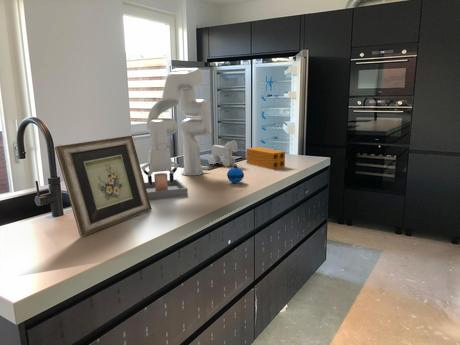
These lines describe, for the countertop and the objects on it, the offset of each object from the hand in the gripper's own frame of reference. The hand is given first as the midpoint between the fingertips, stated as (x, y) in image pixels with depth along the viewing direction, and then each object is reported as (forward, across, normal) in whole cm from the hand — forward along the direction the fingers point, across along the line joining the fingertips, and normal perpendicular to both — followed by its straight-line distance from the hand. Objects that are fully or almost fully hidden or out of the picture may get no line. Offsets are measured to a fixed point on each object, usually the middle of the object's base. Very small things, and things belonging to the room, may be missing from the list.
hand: (161, 183), depth 175 cm
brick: (+5, -74, -38) cm, 83 cm away
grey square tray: (+5, 0, 0) cm, 5 cm away
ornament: (+5, -39, -3) cm, 39 cm away
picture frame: (+5, +25, +31) cm, 40 cm away
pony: (+5, -50, -50) cm, 71 cm away
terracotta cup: (+4, 0, 0) cm, 4 cm away
